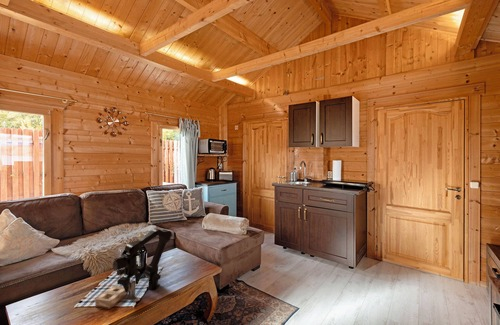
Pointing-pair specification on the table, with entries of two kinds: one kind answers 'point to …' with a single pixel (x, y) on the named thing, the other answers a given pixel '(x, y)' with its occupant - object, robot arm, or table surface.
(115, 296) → the bore block
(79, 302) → the table surface
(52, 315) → the table surface
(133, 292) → the peg
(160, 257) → the robot arm
